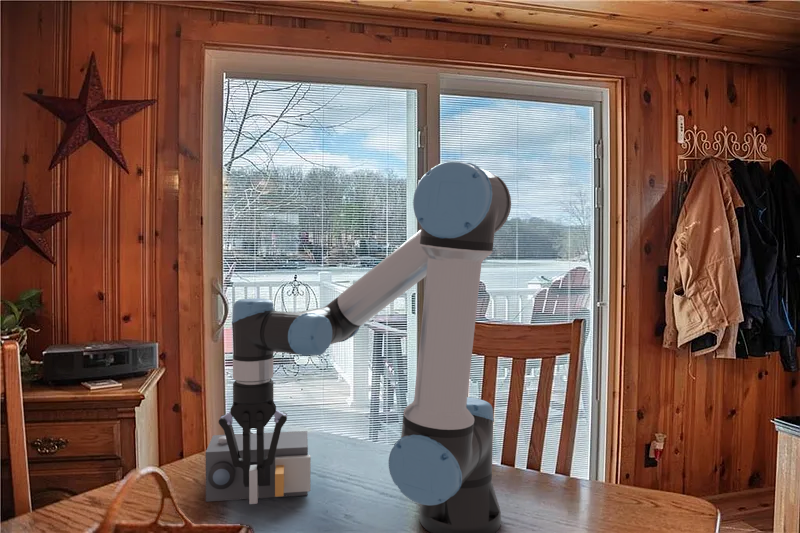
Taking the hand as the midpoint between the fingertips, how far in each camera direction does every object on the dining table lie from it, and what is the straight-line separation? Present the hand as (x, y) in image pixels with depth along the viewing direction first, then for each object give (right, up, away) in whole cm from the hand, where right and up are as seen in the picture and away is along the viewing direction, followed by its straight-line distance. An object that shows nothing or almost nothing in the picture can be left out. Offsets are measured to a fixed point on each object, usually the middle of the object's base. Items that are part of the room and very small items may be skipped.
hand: (253, 500), depth 112 cm
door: (+7, 0, +3) cm, 8 cm away
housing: (-1, -1, +10) cm, 10 cm away
